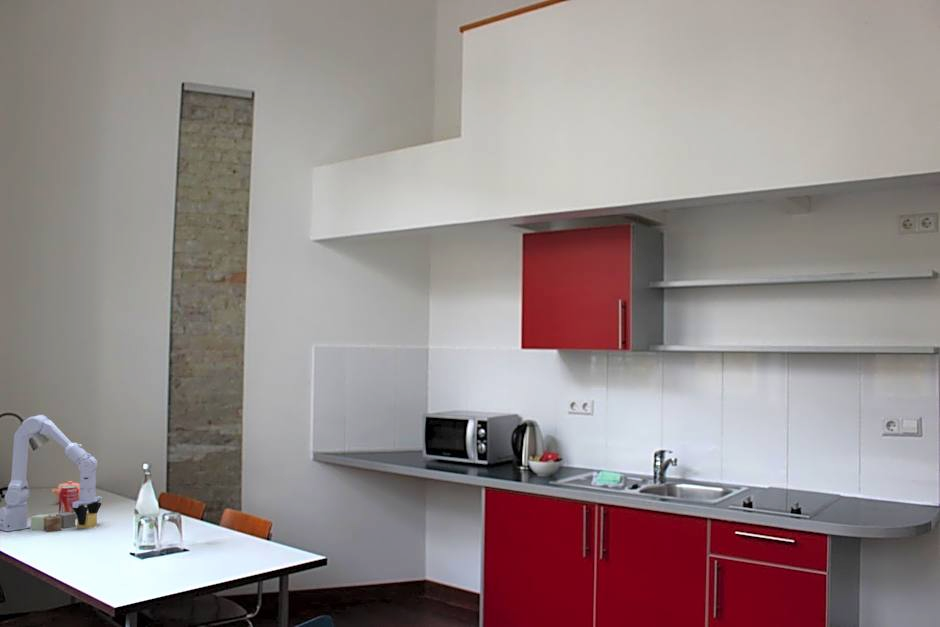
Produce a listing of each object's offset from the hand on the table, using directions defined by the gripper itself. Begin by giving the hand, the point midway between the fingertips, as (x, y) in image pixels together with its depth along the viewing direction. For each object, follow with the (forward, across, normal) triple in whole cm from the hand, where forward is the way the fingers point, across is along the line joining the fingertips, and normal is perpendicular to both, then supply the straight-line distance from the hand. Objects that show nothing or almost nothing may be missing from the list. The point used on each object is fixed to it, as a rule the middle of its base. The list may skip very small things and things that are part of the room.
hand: (87, 523), depth 344 cm
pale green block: (+2, -8, +14) cm, 17 cm away
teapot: (+2, +40, +42) cm, 58 cm away
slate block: (+2, -2, +8) cm, 9 cm away
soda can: (+2, +11, +18) cm, 21 cm away
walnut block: (+2, -9, +8) cm, 12 cm away
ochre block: (+2, 0, 0) cm, 2 cm away
